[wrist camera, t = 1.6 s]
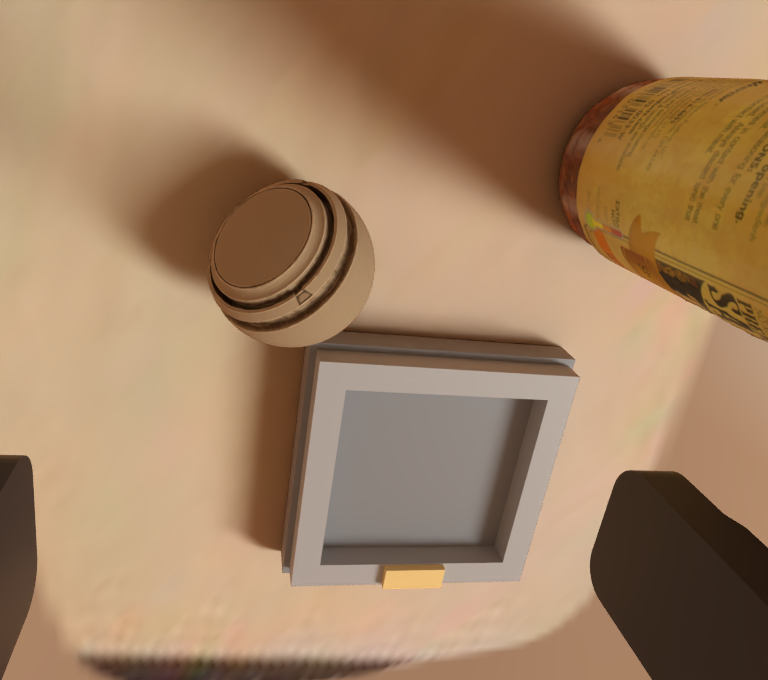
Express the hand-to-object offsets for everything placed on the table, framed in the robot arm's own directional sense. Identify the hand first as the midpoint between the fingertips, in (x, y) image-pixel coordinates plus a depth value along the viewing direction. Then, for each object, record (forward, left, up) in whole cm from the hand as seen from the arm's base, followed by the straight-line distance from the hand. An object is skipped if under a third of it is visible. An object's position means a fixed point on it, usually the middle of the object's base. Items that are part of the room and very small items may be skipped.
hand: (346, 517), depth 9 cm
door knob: (0, 0, -15) cm, 15 cm away
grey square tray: (+8, +6, -14) cm, 17 cm away
